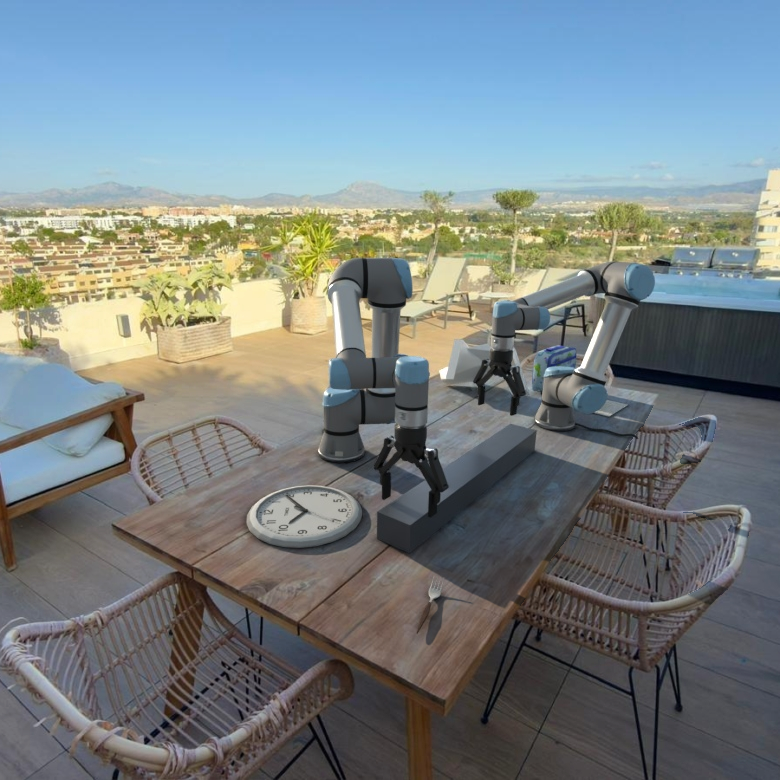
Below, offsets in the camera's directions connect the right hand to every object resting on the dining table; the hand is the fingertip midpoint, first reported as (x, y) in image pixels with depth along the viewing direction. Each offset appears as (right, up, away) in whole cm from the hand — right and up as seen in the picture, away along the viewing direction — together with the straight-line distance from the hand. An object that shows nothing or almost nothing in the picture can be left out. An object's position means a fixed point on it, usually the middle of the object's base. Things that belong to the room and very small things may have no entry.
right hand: (496, 409), depth 179 cm
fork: (-29, -37, -74) cm, 88 cm away
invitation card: (+55, -1, +47) cm, 73 cm away
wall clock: (-59, -26, -41) cm, 76 cm away
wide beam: (-13, -22, -25) cm, 35 cm away
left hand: (-32, -22, -52) cm, 65 cm away
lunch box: (+40, +6, +69) cm, 81 cm away
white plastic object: (+5, +6, +64) cm, 65 cm away
